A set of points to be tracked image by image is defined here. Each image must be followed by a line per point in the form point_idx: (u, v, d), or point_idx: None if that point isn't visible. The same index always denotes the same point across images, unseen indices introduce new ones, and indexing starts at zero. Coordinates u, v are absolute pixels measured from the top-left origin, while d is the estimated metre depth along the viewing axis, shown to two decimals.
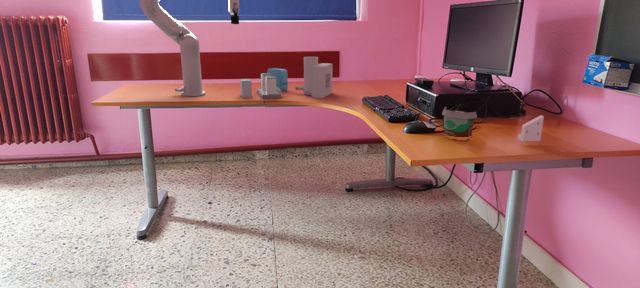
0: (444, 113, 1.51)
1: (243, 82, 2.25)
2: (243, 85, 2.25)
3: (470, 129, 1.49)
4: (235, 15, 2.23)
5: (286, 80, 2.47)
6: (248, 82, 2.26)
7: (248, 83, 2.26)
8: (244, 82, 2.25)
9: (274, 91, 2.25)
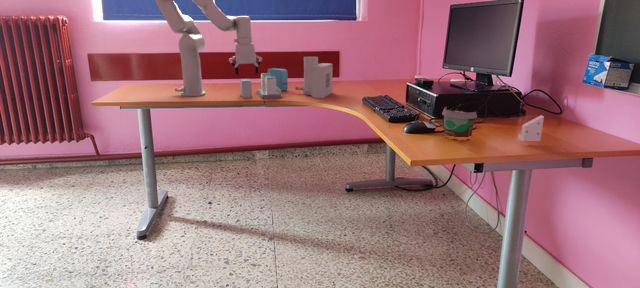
0: (444, 113, 1.51)
1: (243, 82, 2.25)
2: (243, 85, 2.25)
3: (470, 129, 1.49)
4: (258, 65, 2.28)
5: (286, 80, 2.47)
6: (248, 82, 2.26)
7: (248, 83, 2.26)
8: (244, 82, 2.25)
9: (274, 91, 2.25)
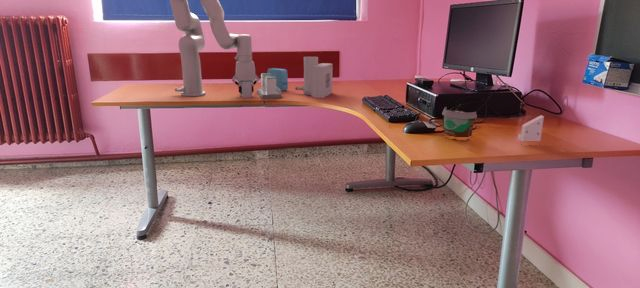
0: (444, 113, 1.51)
1: (243, 82, 2.25)
2: (243, 85, 2.25)
3: (470, 129, 1.49)
4: (253, 85, 2.31)
5: (286, 80, 2.47)
6: (248, 82, 2.26)
7: (248, 83, 2.26)
8: (244, 82, 2.25)
9: (274, 91, 2.25)
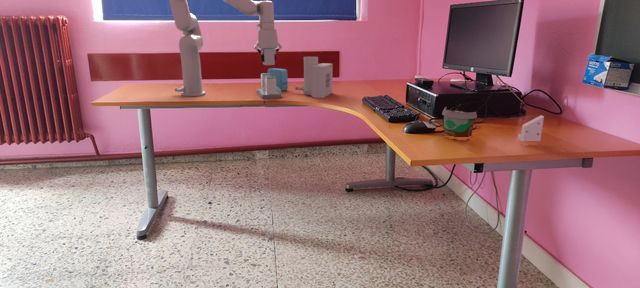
0: (444, 113, 1.51)
1: (266, 49, 2.24)
2: (266, 52, 2.24)
3: (470, 129, 1.49)
4: None
5: (286, 80, 2.47)
6: (271, 49, 2.24)
7: (271, 50, 2.24)
8: (267, 49, 2.24)
9: (274, 91, 2.25)
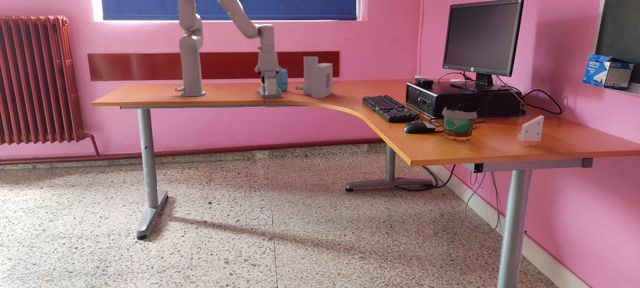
0: (444, 113, 1.51)
1: (266, 72, 2.27)
2: (266, 75, 2.27)
3: (470, 129, 1.49)
4: None
5: (286, 80, 2.47)
6: (271, 72, 2.28)
7: (271, 73, 2.28)
8: (267, 72, 2.27)
9: (274, 91, 2.25)
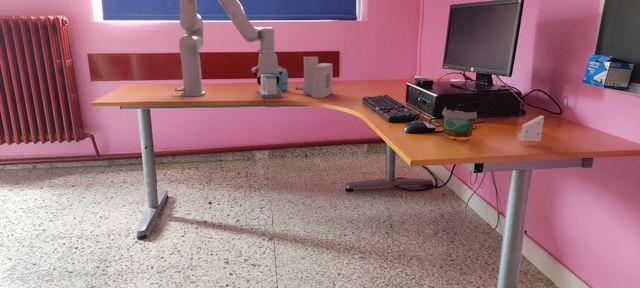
0: (444, 113, 1.51)
1: None
2: None
3: (470, 129, 1.49)
4: (279, 75, 2.33)
5: (286, 80, 2.47)
6: None
7: None
8: None
9: (274, 91, 2.25)
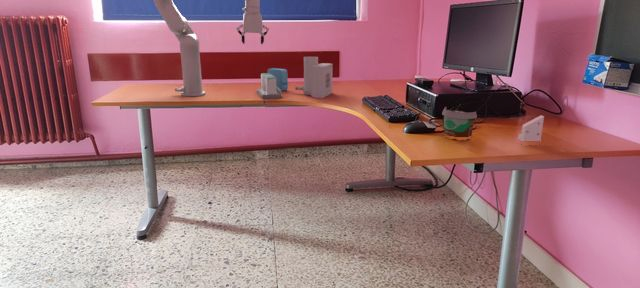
0: (444, 113, 1.51)
1: None
2: None
3: (470, 129, 1.49)
4: (264, 35, 2.34)
5: (286, 80, 2.47)
6: None
7: None
8: None
9: (274, 91, 2.25)
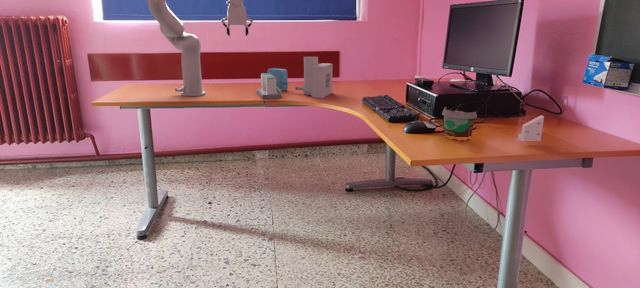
0: (444, 113, 1.51)
1: None
2: None
3: (470, 129, 1.49)
4: (248, 27, 2.42)
5: (286, 80, 2.47)
6: None
7: None
8: None
9: (274, 91, 2.25)
